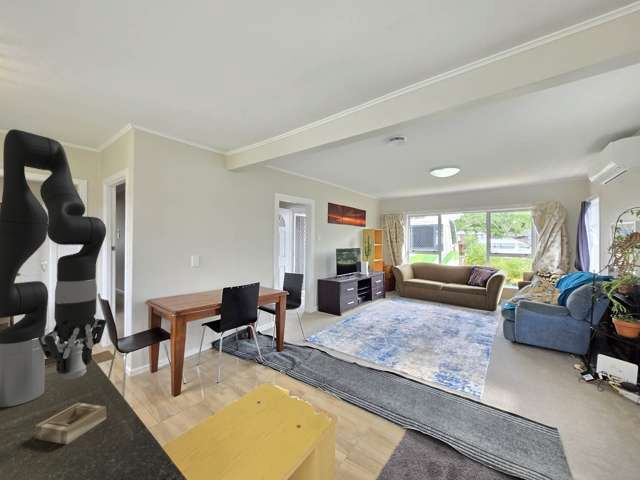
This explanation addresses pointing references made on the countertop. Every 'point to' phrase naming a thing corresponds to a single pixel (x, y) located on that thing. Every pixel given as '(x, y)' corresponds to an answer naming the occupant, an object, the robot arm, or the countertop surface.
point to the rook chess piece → (75, 362)
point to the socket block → (64, 433)
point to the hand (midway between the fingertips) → (74, 368)
